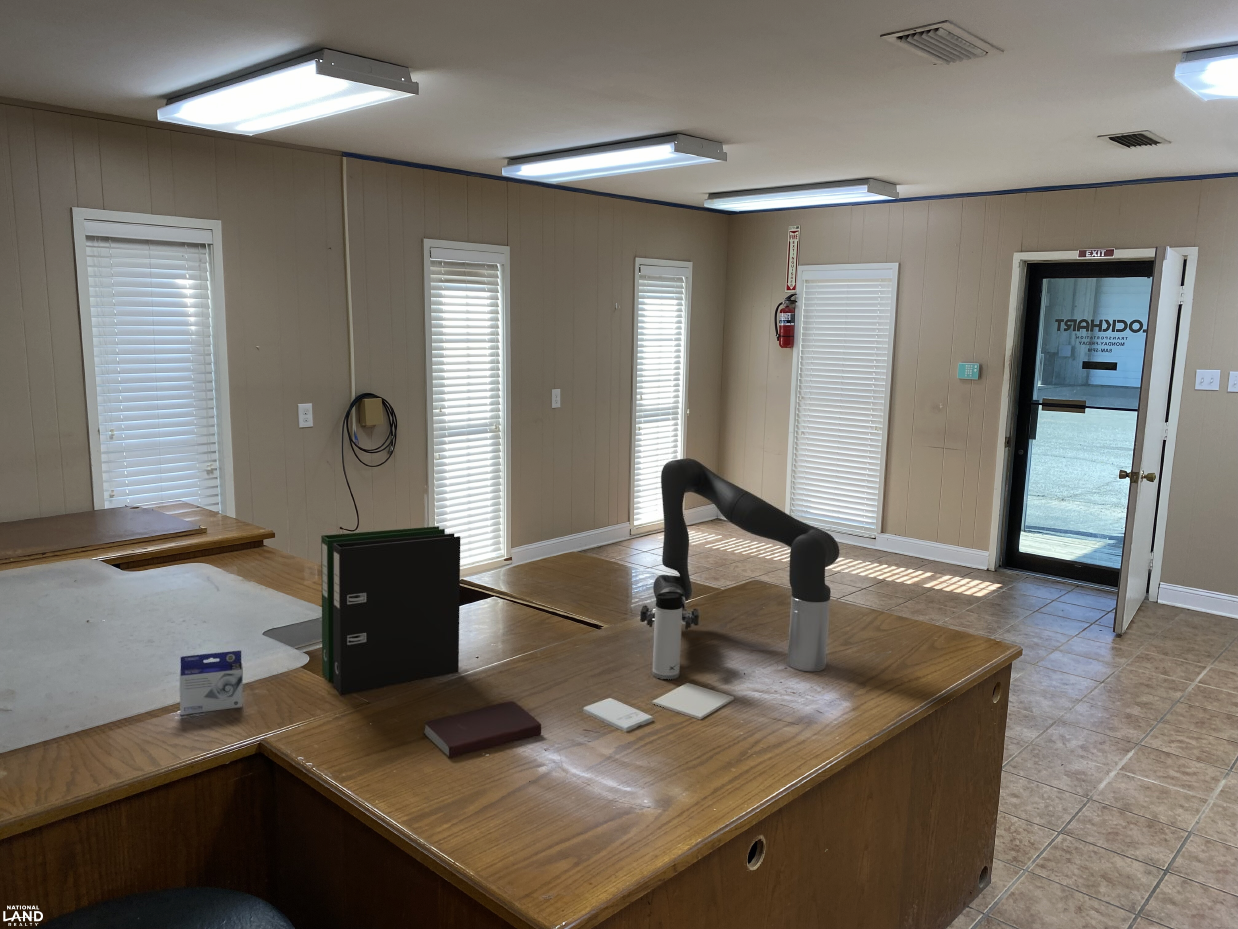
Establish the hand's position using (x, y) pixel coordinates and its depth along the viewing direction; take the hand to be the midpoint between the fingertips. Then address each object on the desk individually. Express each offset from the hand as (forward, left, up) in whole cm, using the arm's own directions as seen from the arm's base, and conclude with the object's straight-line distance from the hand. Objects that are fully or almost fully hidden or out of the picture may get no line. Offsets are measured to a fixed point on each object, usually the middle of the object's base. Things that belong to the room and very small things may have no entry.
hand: (668, 624), depth 202 cm
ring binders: (+45, -45, -11) cm, 65 cm away
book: (+54, -7, -12) cm, 55 cm away
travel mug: (+3, +2, -11) cm, 12 cm away
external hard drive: (+29, +7, -12) cm, 32 cm away
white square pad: (+12, +15, -11) cm, 22 cm away
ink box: (+81, -56, -11) cm, 99 cm away
